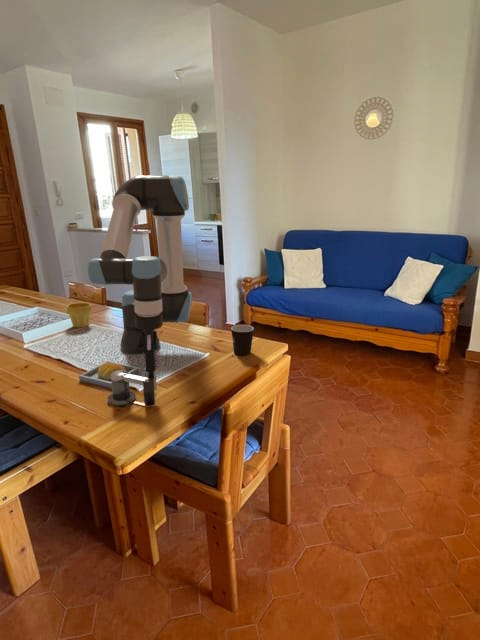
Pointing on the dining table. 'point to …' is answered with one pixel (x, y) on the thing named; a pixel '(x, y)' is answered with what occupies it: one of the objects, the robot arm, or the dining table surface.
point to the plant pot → (79, 314)
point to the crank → (146, 382)
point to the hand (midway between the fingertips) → (151, 389)
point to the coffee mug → (242, 339)
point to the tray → (94, 379)
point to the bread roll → (108, 370)
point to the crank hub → (122, 395)
